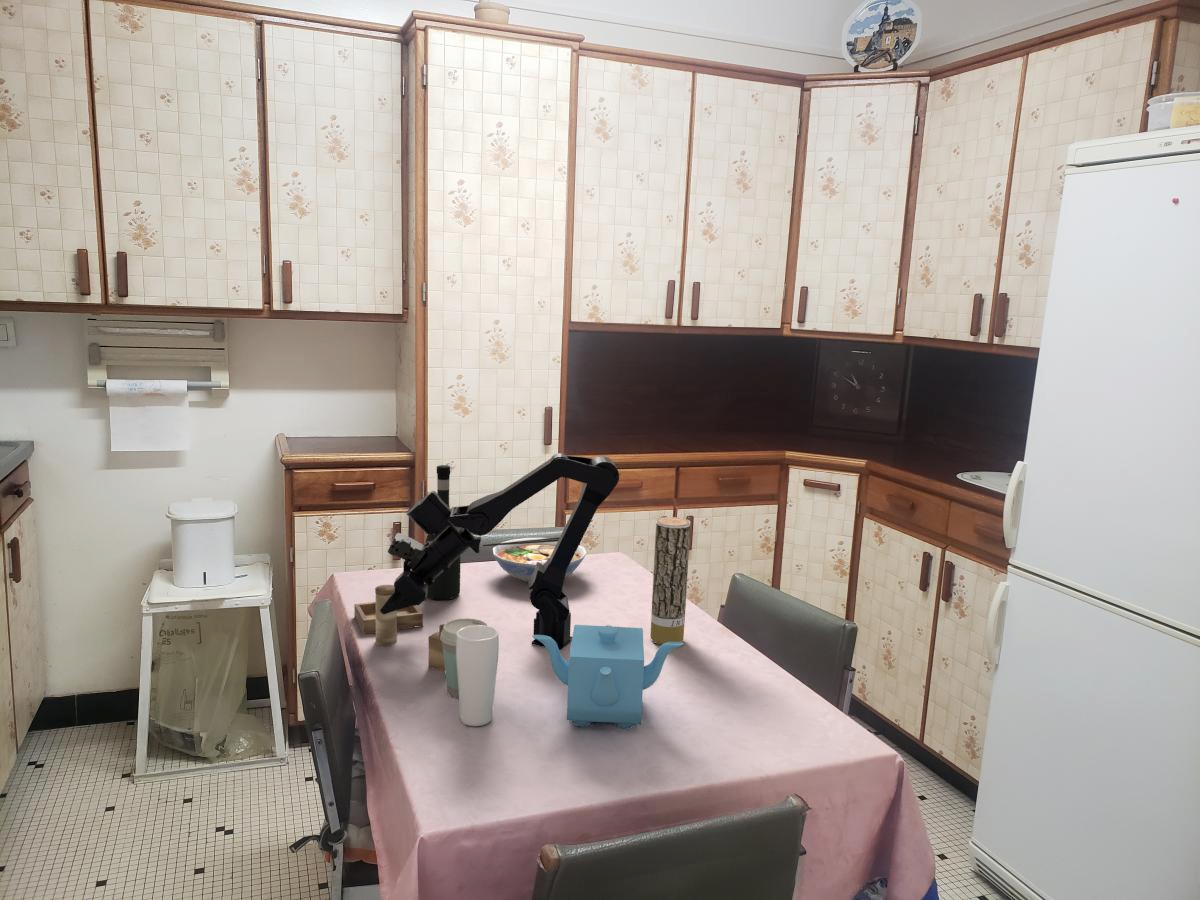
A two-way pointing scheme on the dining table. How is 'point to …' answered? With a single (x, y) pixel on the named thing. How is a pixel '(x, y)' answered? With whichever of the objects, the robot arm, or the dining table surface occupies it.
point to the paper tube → (670, 579)
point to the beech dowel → (385, 617)
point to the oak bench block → (436, 651)
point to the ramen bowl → (530, 555)
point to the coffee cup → (453, 651)
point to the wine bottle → (446, 581)
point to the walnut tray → (405, 617)
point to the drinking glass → (476, 672)
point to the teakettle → (606, 673)
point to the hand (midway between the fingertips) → (385, 604)
